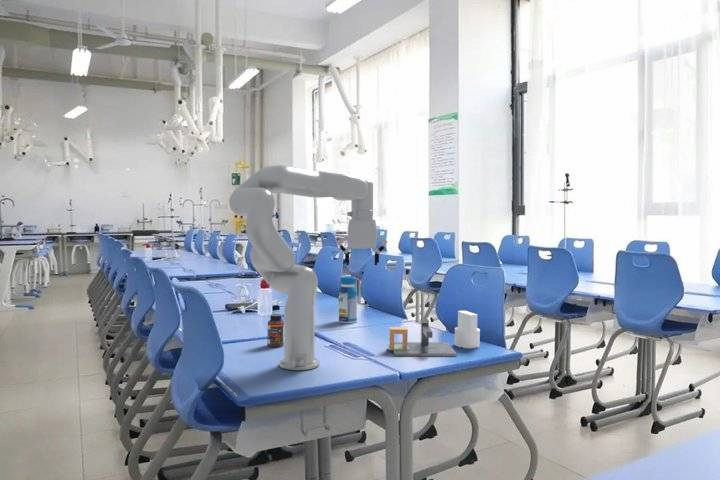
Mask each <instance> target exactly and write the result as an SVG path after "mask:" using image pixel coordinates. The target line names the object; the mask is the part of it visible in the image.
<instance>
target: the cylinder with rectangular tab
mask: <svg viewBox="0 0 720 480" xmlns="http://www.w3.org/2000/svg"><path fill="white" fill-rule="evenodd" d="M480 336H481V329H480V328H478V314H477V313H474V312H470V311H468V310H458V311H457V327H455V328H454V346H455V347H457V346H458V348H461V347H463V349H476V347H477V348H480V346H481V345H480V341H481V340H480V339H481V338H480Z"/></svg>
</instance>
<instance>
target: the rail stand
mask: <svg viewBox="0 0 720 480" xmlns="http://www.w3.org/2000/svg"><path fill="white" fill-rule="evenodd" d="M429 338H430V339H432V338H433V331H432V329H431V328H430V325H429V321H420V342H417V341H415V342H414V341H413V342H412V341H411V342H409V341H407V348H403V346H402V341H401V342H398V341H396V342H395V341H394V348H390V346H389V344H390V343H388V344H387V347H388V350H389V351H392V354H393V356H394V357H457V352H456V351H455V349H454V348H453V346H451V344H450V343H449V342H447V341H446V342H445V341H444V342H438V341H437V342H430V341H429Z"/></svg>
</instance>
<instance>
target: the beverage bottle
mask: <svg viewBox="0 0 720 480" xmlns="http://www.w3.org/2000/svg"><path fill="white" fill-rule="evenodd" d="M339 281H340V285H341V286H340V288H339V290H338V294H339V296H338V299H337V300H338V322H339V323H342V324H354V323H357V322H358V290H357V288H356V286H355V285H356V284H357V283H356V282H357V279H356V276H349V275H347V276H346V275H345V276H340V280H339Z"/></svg>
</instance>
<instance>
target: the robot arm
mask: <svg viewBox="0 0 720 480" xmlns="http://www.w3.org/2000/svg"><path fill="white" fill-rule="evenodd" d="M274 194H284V195H291V196H292V195H293V196H298V197H299V196H301V197H306V198H316V199H317V198H318V199H320V198H333V199H335V200H336V201H340V202H342V201H351V203H350V204H351V205H350V206H351V211H347V213H346V215H347V217H350V219H349V220H348V225H347V235H346V236H344V237H342V238H340V239H338V240H336V243H337V244H338V246H339V249H340V250H341V251H342V252H343V253H344V262H345V263H346V265H347V266H350V253H349V251H351V249H373V251H374V252H375V253H374V265H375V266H377V265H378V263H380V253H382V252H383V250H384V249H385V247H386V246H387V244H388V241H387V240H386V239H384V238H382V237H380V236H378V230H377V222H376V219H374V183H373V181H372V180H370V179H364V178H362V177H361V176H355V175H349V174H343V173H333V172H327V171H322V170H321V171H320V170H312V169H306V168H302V167H301V168H300V167H296V166H290V165H284V164H283V165H282V164H278V165H271V166H270V165H269V166H264V167H262V168H260V169H259V170H258V171H257V170H256V172H255V173H253V174H252V175H251V176H250V177H248V178H247V179H246V180H245V181H244V182H243V183H241V184H240V185H239V186H237V188H235V189H234V190H233V191H232V193H231V194H230V197H229V204H228V205H229V208H230V209H231V211H232V212H233V213H234V214H235V215H237V216H240V217H246V218H245V219H246V221H245V233H246V234H245V235H246V237H247V240H248V241H249V243H250V245H252V247H251V249H250V251H249V258H250V259H249V260H250V263H251V264H252V266H253V268H254V269H255V270H256V271H257V272H258V274H259V275H260V276H261V277H262V279H263V280H264V281H265V282H266V283H267V284H268V285H269V287H271V288H272V289H273V290H274V291H276V292H278V293H281V294H286V295H287V298H286V301H285V304H284V310H283V312H284V313H283V316H284V317H283V318H284V320H283V321H284V345H283V346H284V355H283V356H284V358H283V359H281V360H280V361H279V367H280V368H282V369H284V370H288V371H307V370H312V369H315V368H318V367H319V366H320V360H319V358H315V357H316V356H315V339H316V337H315V335H316V334H315V333H316V332H315V327H316V325H315V323H316V322H315V321H316V320H315V317H316V316H315V308H316V307H315V306H316V304H315V303H316V295H317V294H316V293H317V291H318V284H319V280H318V276H317V273H316V272H315V271H314V270H313V269H312V268H310V267H308V266H305V265H300V264H296V254H295V252H294V250H293V248H292V247H291V246H290V245H289V243H287V241H286V240H285V239H284V237H283V236H282V235H281V234H280V232H279V231H278V230H277V228H276V227H275V224H274V222H273V218H274V217H273V215H274V209H275V204H276V202H275V197H274ZM346 241H347V242H346ZM344 242H346V243H347V247H345V246H344V245H343V243H344ZM378 242H380V243H381V245H380V246H379V247H377V245H378Z"/></svg>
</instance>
